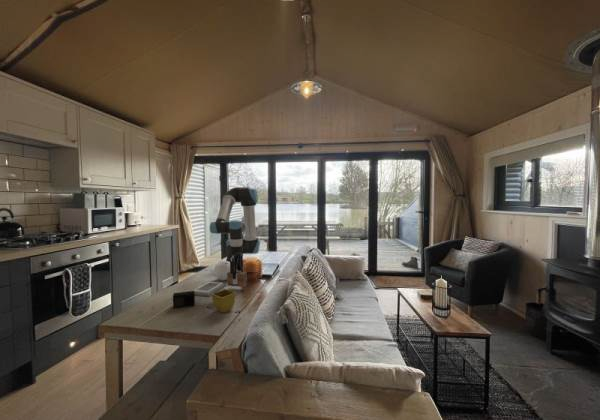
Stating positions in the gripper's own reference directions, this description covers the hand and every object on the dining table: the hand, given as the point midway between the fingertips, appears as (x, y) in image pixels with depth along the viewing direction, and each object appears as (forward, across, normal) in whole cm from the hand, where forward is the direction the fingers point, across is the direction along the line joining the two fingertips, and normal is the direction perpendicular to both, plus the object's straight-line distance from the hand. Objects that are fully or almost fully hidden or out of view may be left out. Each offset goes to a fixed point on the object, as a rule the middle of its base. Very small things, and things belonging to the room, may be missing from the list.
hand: (237, 282), depth 171 cm
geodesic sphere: (+5, -15, -18) cm, 24 cm away
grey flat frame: (+4, +5, -17) cm, 18 cm away
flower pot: (+4, +29, +8) cm, 31 cm away
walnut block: (+2, 0, 0) cm, 2 cm away
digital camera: (+4, +30, -15) cm, 34 cm away
